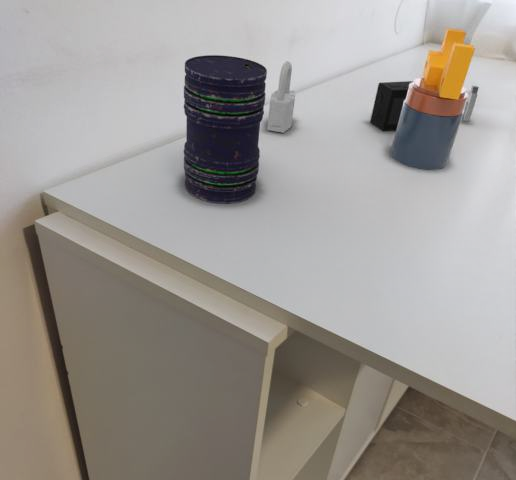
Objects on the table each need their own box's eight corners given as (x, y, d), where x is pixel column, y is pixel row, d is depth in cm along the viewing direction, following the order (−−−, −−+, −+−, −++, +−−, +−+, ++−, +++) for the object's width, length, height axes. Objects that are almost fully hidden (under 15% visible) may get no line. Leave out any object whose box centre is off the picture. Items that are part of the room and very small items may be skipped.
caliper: (468, 124, 102) (480, 89, 98) (462, 123, 102) (474, 88, 98) (455, 92, 117) (465, 61, 113) (450, 91, 117) (460, 60, 113)
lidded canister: (441, 150, 90) (463, 80, 83) (451, 172, 84) (477, 98, 76) (387, 143, 90) (404, 73, 83) (393, 165, 83) (413, 91, 76)
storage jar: (204, 209, 67) (208, 82, 57) (171, 177, 73) (169, 57, 63) (270, 196, 72) (284, 76, 62) (234, 166, 78) (241, 53, 68)
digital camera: (386, 134, 94) (396, 91, 89) (369, 122, 97) (378, 81, 93) (433, 130, 98) (445, 89, 93) (415, 119, 101) (426, 79, 96)
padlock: (273, 117, 95) (279, 55, 88) (295, 121, 94) (303, 58, 88) (263, 130, 90) (269, 65, 83) (286, 134, 89) (295, 69, 83)
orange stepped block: (422, 72, 84) (435, 26, 80) (450, 76, 84) (464, 30, 80) (427, 95, 75) (442, 43, 71) (458, 99, 75) (474, 48, 71)
